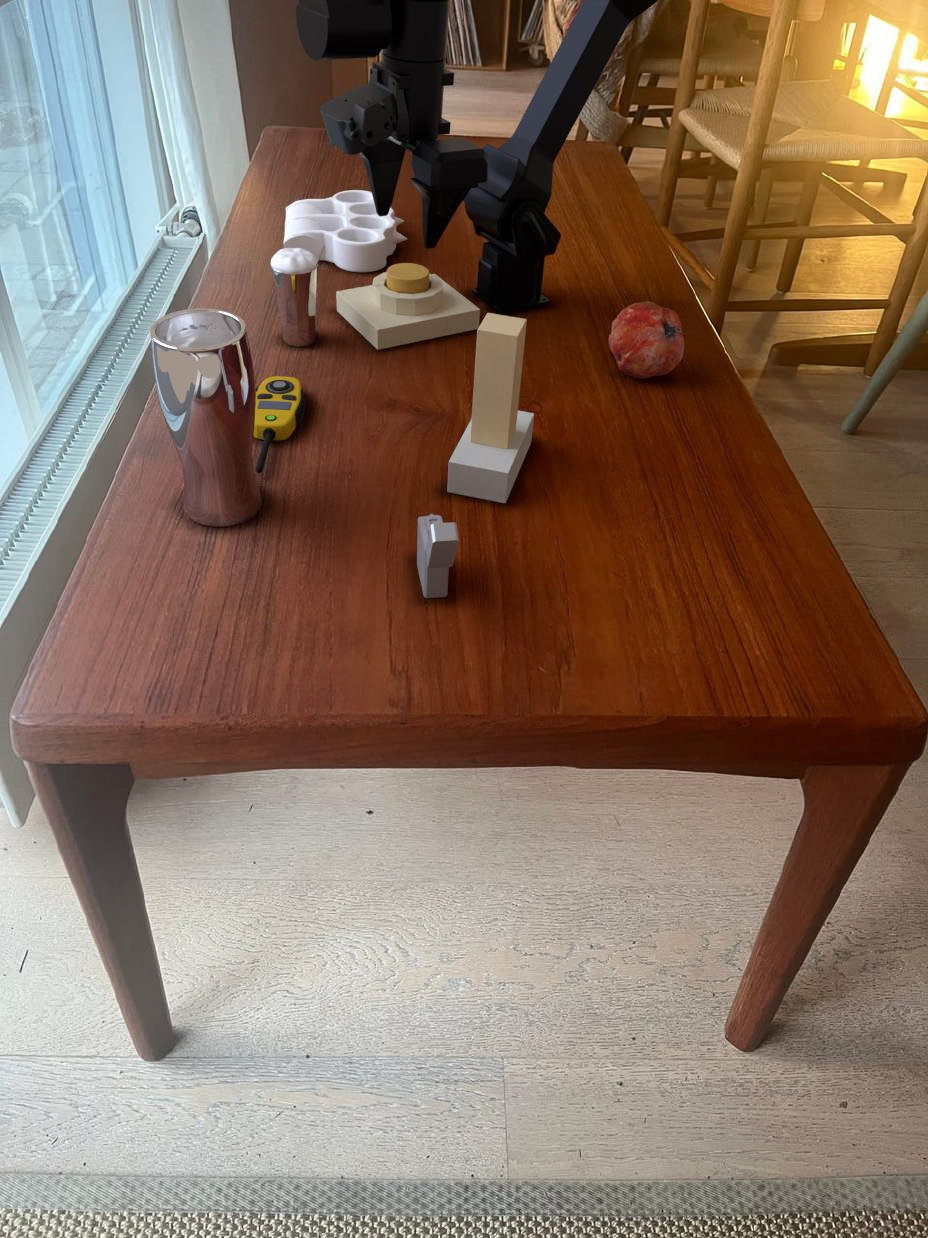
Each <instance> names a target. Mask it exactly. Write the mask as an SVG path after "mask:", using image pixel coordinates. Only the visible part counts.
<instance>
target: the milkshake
mask: <svg viewBox="0 0 928 1238" xmlns="http://www.w3.org/2000/svg"><path fill="white" fill-rule="evenodd" d="M323 249H324V246H323V248H322V251H323ZM322 251H321V254H322ZM321 254H320V256H319V259H320V257H321ZM319 259H318V260H317V258H316V257H315V256H314V255H313V254H312V253H311V252H309V251H306V250H304V249H302V248H284V247H283V248H281V249H279V250H278V251H277V252H275V254H274V255H273V256H272V257H271V259H270V268H271V274H272V280H273V284H274V285H273V286H274V290H275V295H276V301H277V307H278V313H279V320H280V327H281V333H282V339H283V342H284V343H285V344H287V345H289V346H291V347H298V348H301V347H308V346H311V345H312V344H314V343H315V342H316V309H317V308H316V305H317V288H318V274H319V273H318V272H319V271H318V270H319V261H320V260H319Z"/></svg>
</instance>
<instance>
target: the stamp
mask: <svg viewBox="0 0 928 1238" xmlns="http://www.w3.org/2000/svg"><path fill="white" fill-rule="evenodd" d="M527 322H528V319H527V318H522V317H515V316H510V315H505V314H499V313H498V314H497V313H493V312H487V313H486V314H485V316H484V318H483V320H482V321H481V323H480V324H479V328H478V329H476V330H477V331H476V346H475V360H474V361H475V362H474V375H473V376H474V377H473V378H474V379H473V390H472V391H473V394H472V408H471V418H470V421H469V422H468V424H467V426H466V428H465V430H464V432H463V434H462V436H461V437H460V440H459V441H458V443H457V445H456V447H455V449H454V451H453V452H452V454H451V457H450V459H448V460H449V461H448V466H447V467H448V469H447V470H448V471H447V488H446V489H447V490H446V492H447V493H451V494H456V495H460V496H465V497H470V498H476V499H481V500H485V501H491V502H496V503H501V504H506V503H507V501H508V499H509V496H510V494H511V491H512V489H513V487H514V484H515V483H516V479H517V477H518V475H519V473H520V470H521V468H522V465H523V464H524V460H525V458H526V456H527V453H528V451H529V449H530V446H531V444H532V439H533V430H534V422H535V413H534V412H529V411H524V410H519V403H520V402H519V401H520V395H521V394H520V393H521V384H522V383H521V381H522V372H523V363H524V352H525V343H526V333H527Z"/></svg>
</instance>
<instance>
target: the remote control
mask: <svg viewBox="0 0 928 1238" xmlns="http://www.w3.org/2000/svg"><path fill="white" fill-rule="evenodd" d="M300 382H301V381H300V380H299V379H298V378H295V377H293V376H281V375H273V376H269V377H266V378H265V379H264V380H263V381H262V382H261V383H260V385H259V386H256V387H255V389H256V412H255V425H254V436H253V438H256V439H258V440H262V441H263V442H262V446H261V449H260V452H259V456H258V459H257V463H256V465H255V472H256V473H258V474H261V473H262V472H263V470H264V467H265V463H266V460H267V456H268V453H269V449H270V445H271V442H272V441H284V440H287V439H288V438H290V436H292V434H293V433H294V431H295V430H296V429H298V428H299V427H300V425H301V423H302V421H303V418H304V416H305V405H306V403H305V394H304V389H303V388H302V386H301V383H300Z"/></svg>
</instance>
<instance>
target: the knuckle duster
mask: <svg viewBox="0 0 928 1238" xmlns="http://www.w3.org/2000/svg"><path fill="white" fill-rule="evenodd" d="M403 222H405V220H403V219H402V218H400V217H397V216H396V215H395V210H394V209H393V208H392V206H391V207H390V210H389V213H388V215H387V216H379V215H377V212H376V208H375V204H374V200H373V196H372V192H371V191H370V190H369V191H368V190H361V189H351V190H350V189H349V190H343V191H339V192H337V193H335V194H333V195H332V196H330V197H326V198H305V199H300V200H295V201H294V202H292V203H291V204H289V205H287V206H286V207H285V222H284V235H283V236H284V238H283V249H284V248H302V249H304V250H306V251H309V252H311V253H312V254H313V255H314V256H315V257H316V258H317V260H318V259H319V256H320V254H321V251H322V248H323V246H324V249H323V251H322V254H321V257H320V259H319V261H321V262H322V261H326V262H329V263H333V264H334V265H335V266H336V267H338V268H339V269H341V270H344V271H347V272H353V273H373V272H376V271H379V270H382V269H383V268H385V267H386V266H387V258H388V257H389V256H391V255H393V254H394V252H395V250H396V249H397V244H399V243H402V242H404V241H407V240H408V238H407V237H406V236H404V235H403V234H401V233H400V232H398V231H397V227H398V226H400V225H401V224H402V223H403Z"/></svg>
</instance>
